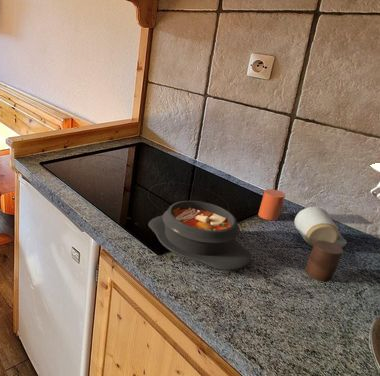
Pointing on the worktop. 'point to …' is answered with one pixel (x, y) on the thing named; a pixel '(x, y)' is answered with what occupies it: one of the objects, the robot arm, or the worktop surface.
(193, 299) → the worktop surface
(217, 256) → the casserole
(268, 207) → the terracotta post
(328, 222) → the ceramic mug
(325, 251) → the walnut post
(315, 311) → the worktop surface
